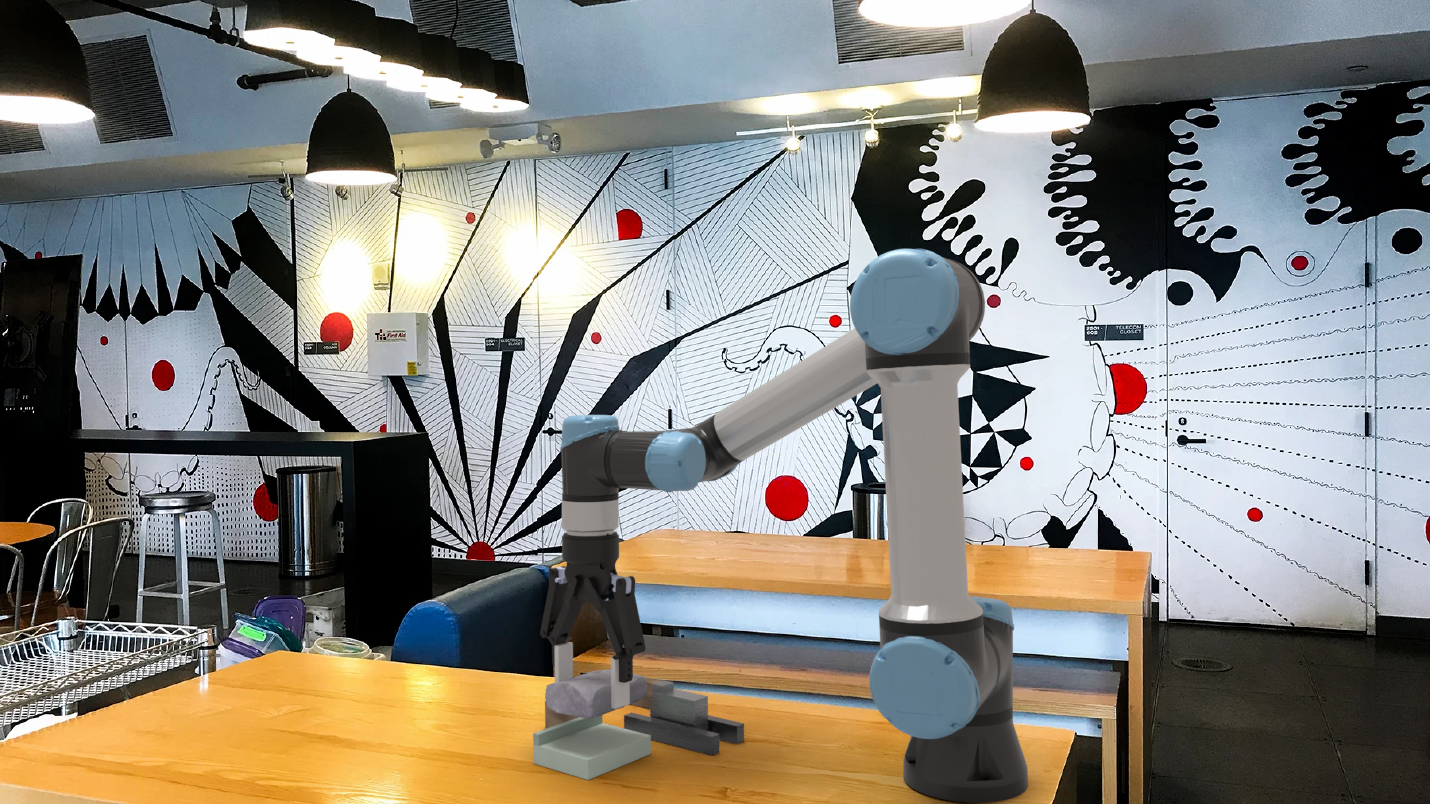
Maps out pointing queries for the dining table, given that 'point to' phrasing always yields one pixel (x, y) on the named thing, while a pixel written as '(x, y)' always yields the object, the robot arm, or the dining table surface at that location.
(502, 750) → the dining table surface
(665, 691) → the grey metal block
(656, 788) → the dining table surface
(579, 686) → the stone block
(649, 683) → the brown piece
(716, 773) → the dining table surface
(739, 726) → the guide
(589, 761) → the pale green ledge block
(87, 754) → the dining table surface
